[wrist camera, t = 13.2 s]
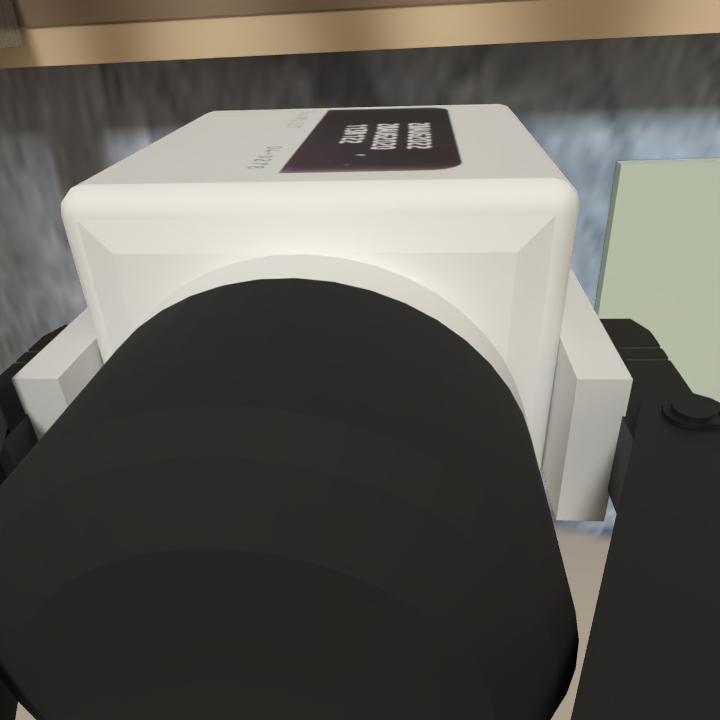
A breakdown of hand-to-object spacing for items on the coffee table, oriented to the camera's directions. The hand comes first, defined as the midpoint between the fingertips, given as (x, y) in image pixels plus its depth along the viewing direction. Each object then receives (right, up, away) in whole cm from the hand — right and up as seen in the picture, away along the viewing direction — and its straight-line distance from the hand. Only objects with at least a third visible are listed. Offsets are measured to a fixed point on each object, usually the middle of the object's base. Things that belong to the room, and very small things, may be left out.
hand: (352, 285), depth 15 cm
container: (0, +1, +2) cm, 2 cm away
